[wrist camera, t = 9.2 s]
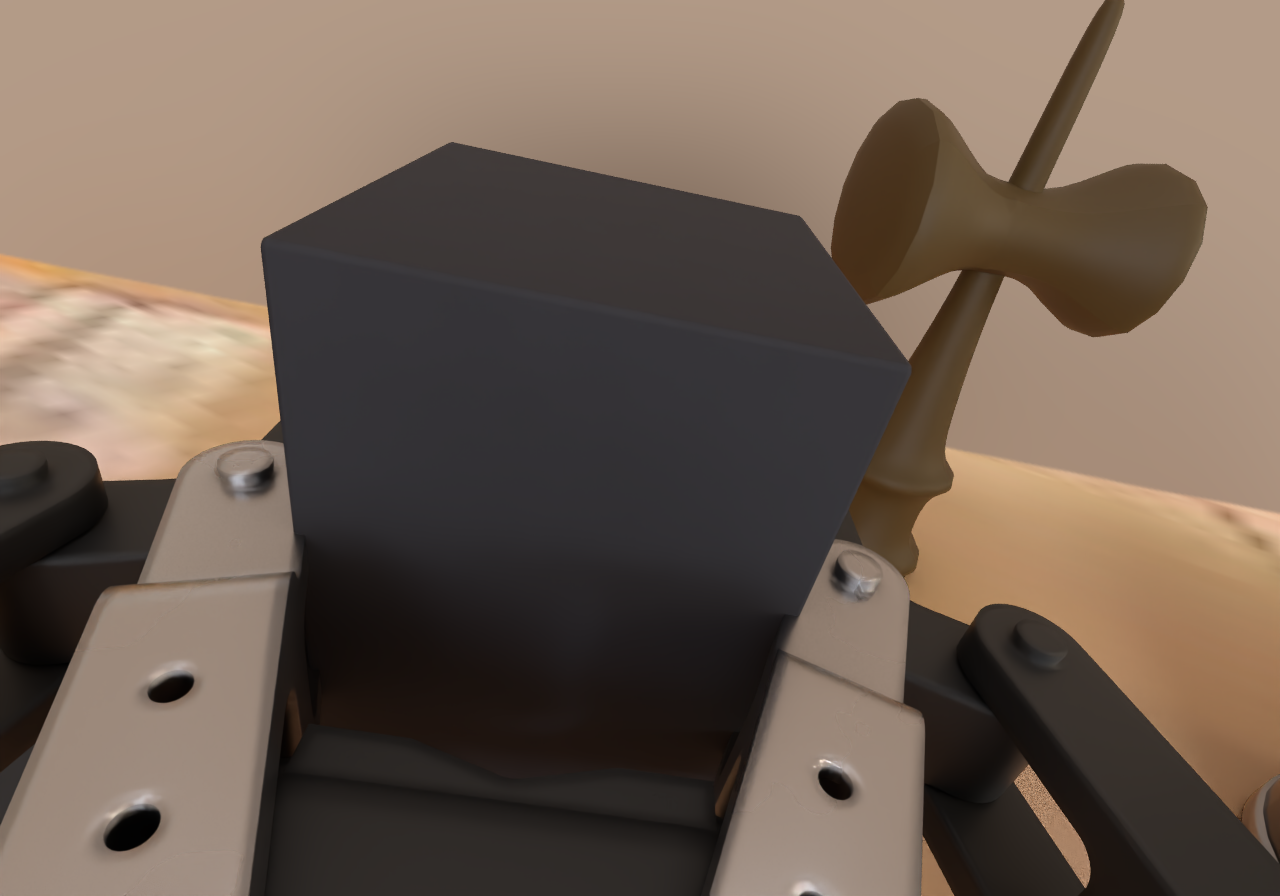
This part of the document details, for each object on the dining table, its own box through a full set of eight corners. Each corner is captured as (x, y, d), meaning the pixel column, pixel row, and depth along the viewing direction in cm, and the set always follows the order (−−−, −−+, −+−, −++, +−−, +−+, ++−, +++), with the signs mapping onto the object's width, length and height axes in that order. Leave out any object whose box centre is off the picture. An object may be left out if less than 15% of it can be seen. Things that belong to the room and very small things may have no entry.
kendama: (729, 492, 30) (910, -43, 19) (922, 516, 32) (1185, 31, 21) (758, 588, 25) (1021, -63, 14) (985, 610, 27) (1372, 36, 16)
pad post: (649, 700, 15) (803, 215, 9) (643, 958, 11) (918, 367, 5) (430, 667, 15) (448, 140, 9) (337, 921, 11) (256, 237, 5)
